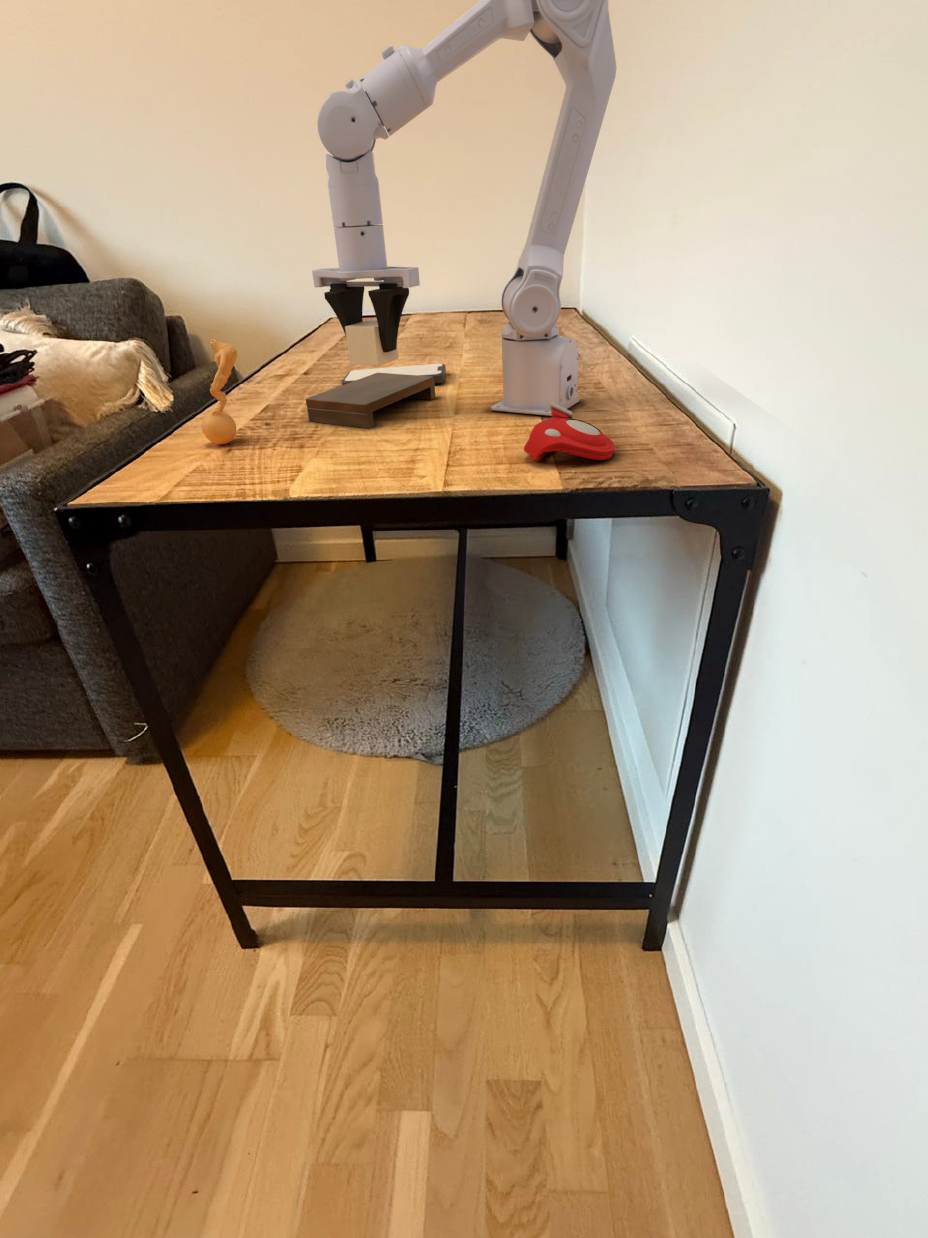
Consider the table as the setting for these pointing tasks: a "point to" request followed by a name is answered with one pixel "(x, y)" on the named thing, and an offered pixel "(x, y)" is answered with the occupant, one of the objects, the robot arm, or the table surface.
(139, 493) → the table surface
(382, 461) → the table surface
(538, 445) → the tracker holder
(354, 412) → the shelf
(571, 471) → the table surface
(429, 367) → the phone case
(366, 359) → the block
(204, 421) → the figurine
